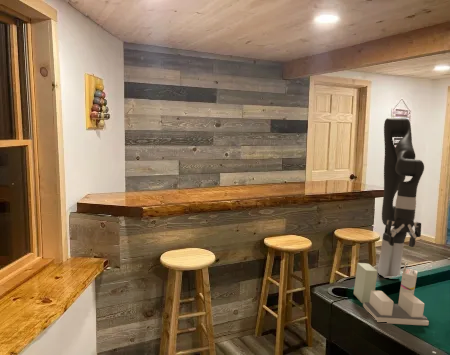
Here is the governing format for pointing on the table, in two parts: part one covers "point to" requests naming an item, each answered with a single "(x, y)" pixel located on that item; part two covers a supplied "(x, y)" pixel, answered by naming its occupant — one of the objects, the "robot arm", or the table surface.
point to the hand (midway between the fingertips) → (401, 246)
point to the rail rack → (396, 309)
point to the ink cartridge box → (408, 280)
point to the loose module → (364, 281)
